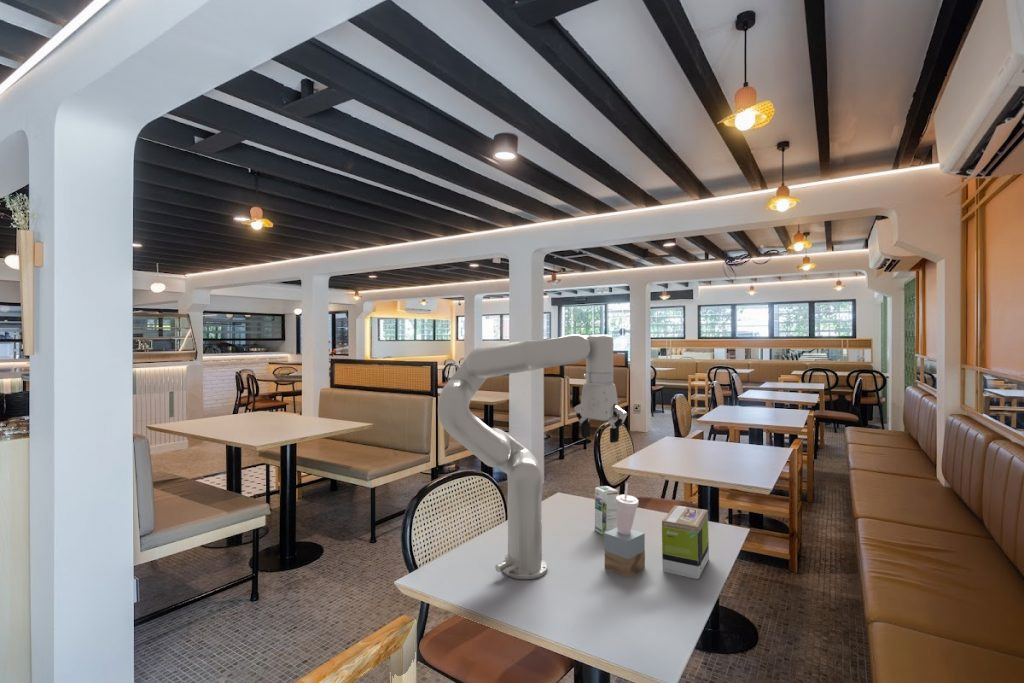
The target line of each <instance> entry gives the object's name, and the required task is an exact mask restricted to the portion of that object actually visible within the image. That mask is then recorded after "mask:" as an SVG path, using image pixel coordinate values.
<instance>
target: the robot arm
mask: <svg viewBox="0 0 1024 683" xmlns="http://www.w3.org/2000/svg"><path fill="white" fill-rule="evenodd" d="M583 361H585V365H586V366H585V368H586V369H585V370H586V371H585V372H586V373H584V374H583V378H584V379H585V382H584V383H583V384H582V390H581V397H580V398H581V399H580V403H579V404H577V405H576V406H574V407H573V408H574V409H573V410H574V412H575V414H576V418H577V419H578V422H579V423H580V424H581V427H580V428H581V438H588V437H590V436H591V423H590V422H589V421H590V420H595V421H602V422H603V421H604V422H607V421H608V423H609V425H610V428H609V442H610V443H612V444H613V443H617V442H619V438H620V427H622V425H623V424H624V423H625V420H626V418H627V416H628V412H627V411H625V410H624V409H622V408H621V407H620V406H619V405H618V403H619V402H618V400H619V399H618V392H617V387H616V384H615V383H614V338H613V337H612V335H609V334H591V335H582V334H577V333H573V334H572V333H569V334H565V335H563V336H560V337H559V336H558V337H554V338H549V339H547V338H546V339H539V340H520V341H514V342H508V343H502V344H497V345H492V346H491V345H490V346H486V347H476V348H474V349H472V350H471V351H470V352H469V354H468V355H467V356H466V358H465V359H464V360H463V362H462V364H460V366H459V367H458V369H456V371H455V372H454V374H453V375H452V376H451V377H450V379H449V380H448V381H447V382H446V384H445V385H444V386H443V388H442V390H441V391H440V394H439V399H438V404H437V416H438V419H439V422H440V424H441V426H442V428H443V430H445V431H446V433H448V434H449V436H451V438H453V439H454V440H455V441H457V442H458V443H459V444H460V445H461V446H463V447H464V448H465V449H466V450H467V451H469V452H471V454H472V455H474V456H475V457H476V458H477V459H479V460H480V461H481V462H483V464H484V465H486V466H487V467H491V468H499V469H500V471H502V472H503V473H505V474H506V475H507V555H504V557H505V558H504V560H503V562H500V563H497V564H495V567H494V568H495V571H496V573H497V572H498V573H500V572H503V573H504V574H505V575H506V576H508V577H509V578H513V579H516V580H535V579H538V578H541V577H543V576H544V575H546V573H547V572H548V564H547V562H546V561H545V560H543V557H542V556H543V553H542V552H543V549H542V548H543V544H542V539H543V536H542V533H543V530H542V529H543V528H542V526H543V525H542V524H543V523H542V522H543V520H542V515H543V514H542V513H543V512H542V508H543V507H542V506H543V505H542V504H543V502H542V500H543V498H542V497H543V495H542V494H543V481H544V480H543V479H544V478H543V472H542V468H541V466H540V462H538V459H537V457H536V456H535V455H534V454H533V453H532V452H531V451H530V450H529V449H528V448H526V447H525V446H524V445H522V444H521V443H520V442H518V441H517V440H516V439H515V438H514V437H512V436H511V435H510V434H508V433H507V432H506V431H504V430H503V429H501V428H496V427H490V426H489V425H487V424H486V423H485V422H484V421H483V420H481V419H480V418H479V417H478V416H476V415H475V414H473V412H471V410H470V403H471V401H472V398H473V397H474V396H475V394H476V393H477V392H478V390H480V388H481V387H482V386H483V383H484V382H485V381H486V380H487V379H488V378H489V379H490V378H493V377H494V378H495V377H500V376H505V375H510V374H516V373H517V374H518V373H523V372H530V371H531V372H532V371H535V370H541V369H546V368H547V369H548V368H552V367H553V368H554V367H558V366H559V367H560V366H565V365H570V364H577V363H580V362H583ZM618 416H619V418H618Z"/></svg>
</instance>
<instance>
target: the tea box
mask: <svg viewBox="0 0 1024 683" xmlns="http://www.w3.org/2000/svg"><path fill="white" fill-rule="evenodd" d="M709 540H710V538H709V510H708V509H703V508H702V509H701V508H696V507H690V506H683V505H676V504H675V505H673V507H672V508H671V510H669V512H668V513H667V514H666V515H665V517H664V518H663V519H662V520H661V543H662V544H661V545H662V546H661V551H662V552H661V553H662V557H661V558H662V561H661V562H662V571H663V572H664V573H667V572H668V574H671V573H672V575H675V574H677V575H676V576H680V575H681V577H684V576H685V578H689V579H690V578H691V579H694V580H699V579H700V576H701V575H702V573H703V571H704V570H705V567H706V564H707V563H708V561H709V558H710V551H709V550H710V548H709V547H710V546H709V542H710V541H709Z"/></svg>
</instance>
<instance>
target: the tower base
mask: <svg viewBox="0 0 1024 683" xmlns="http://www.w3.org/2000/svg"><path fill="white" fill-rule="evenodd" d="M645 556H646V551H644V552H642V553H640V554H638V555H636V556H634V557H632V558H630V559H626V558H623V557H620V556H618V555H615V554H612V553H610V552H607V551H605V550H604V568H605V569H607V570H610V571H612V572H615V573H618V574H619V575H622V576H625V577H627V578H630V577H632V576H634V575H635V574H637V573H639V572H641V571H642V570H643V569H645V568H646V557H645Z"/></svg>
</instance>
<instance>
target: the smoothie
mask: <svg viewBox="0 0 1024 683" xmlns="http://www.w3.org/2000/svg"><path fill="white" fill-rule="evenodd" d="M628 486H629V483H626V482H625V488H624V489H625V490H624V494H618V496H616V500H615V502H616V504H617V531H618V532H619V533H620V534H623V535H629V534H630V533H631V529H633V525H634V520H635V516H636V513H637V512H636V511H637V508H638V506H639V504H640V503H639V499H638V498H637V497H635V496H633V495H631V494H630V495H629V494H628Z"/></svg>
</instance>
